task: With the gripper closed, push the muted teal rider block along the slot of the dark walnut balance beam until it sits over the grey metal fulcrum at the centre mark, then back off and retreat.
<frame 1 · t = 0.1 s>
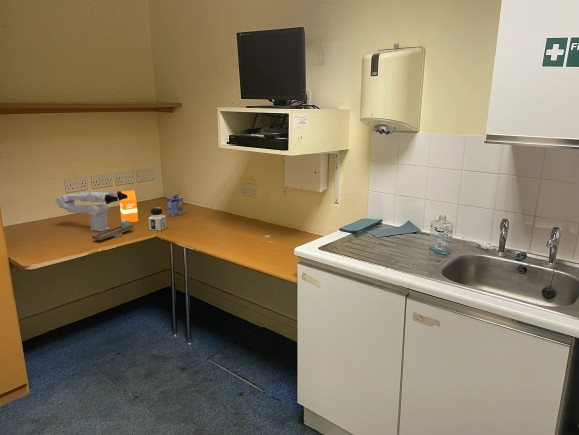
hand: (122, 197, 261), 22 cm above the table, tool horizontal, fingers open, 7 cm apart
rider: (125, 224, 269), point 5 cm above the table, slide at 9.5 cm
beam: (113, 235, 261), on the table
ink cartridge box: (175, 215, 309), on the table
orange juice: (129, 221, 294), on the table
container: (157, 228, 277), on the table
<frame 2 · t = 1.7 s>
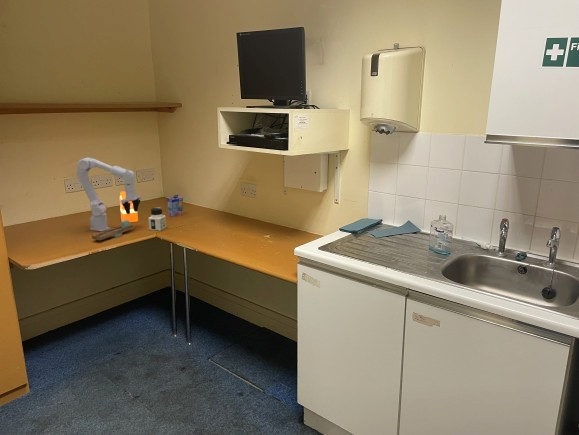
hand: (132, 212, 273), 10 cm above the table, tool pointing down, fingers open, 6 cm apart
nothing on the table moved.
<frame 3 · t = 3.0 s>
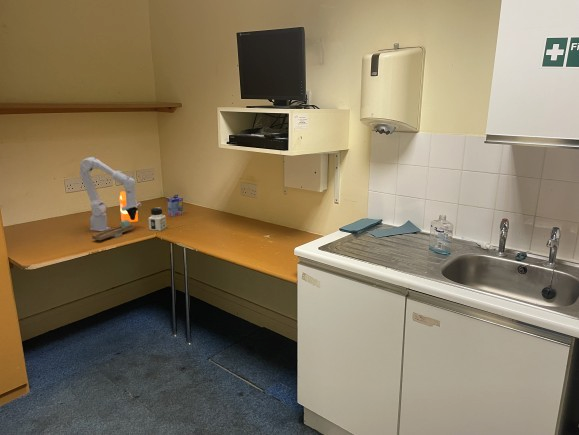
hand: (132, 219, 274), 6 cm above the table, tool pointing down, fingers closed
nothing on the table moved.
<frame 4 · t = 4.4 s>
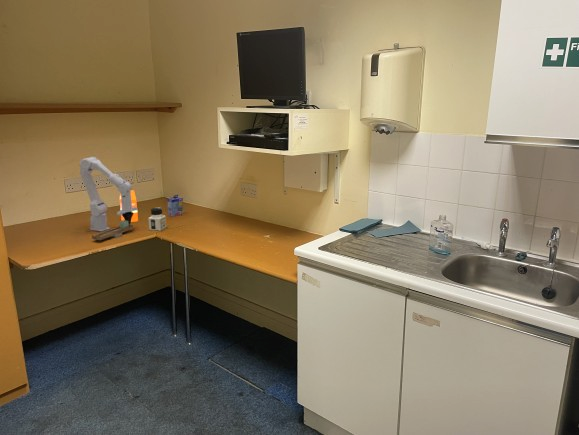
hand: (128, 224, 271), 4 cm above the table, tool pointing down, fingers closed
rider: (124, 224, 268), point 5 cm above the table, slide at 8.7 cm, touching gripper
everything else where it was.
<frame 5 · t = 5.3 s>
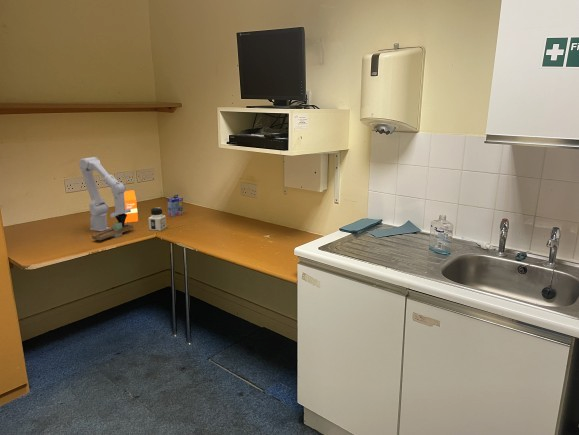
hand: (122, 226, 266), 4 cm above the table, tool pointing down, fingers closed
rider: (117, 226, 263), point 5 cm above the table, slide at 3.5 cm, touching gripper
everything else where it was.
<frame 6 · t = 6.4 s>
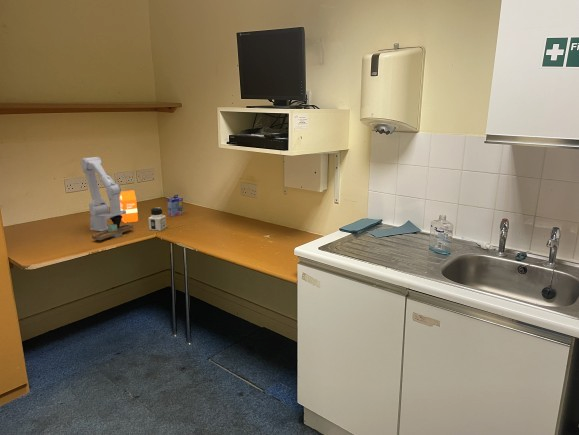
hand: (117, 228, 263), 4 cm above the table, tool pointing down, fingers closed
rider: (112, 228, 260), point 5 cm above the table, slide at -0.4 cm, touching gripper
everything else where it was.
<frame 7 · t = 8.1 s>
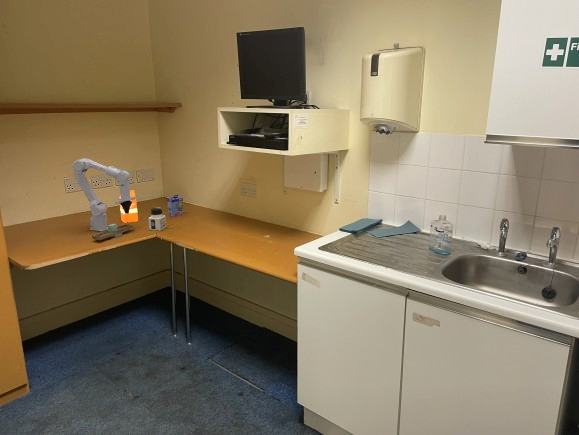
hand: (126, 213, 271), 10 cm above the table, tool pointing down, fingers closed
rider: (112, 228, 260), point 5 cm above the table, slide at -0.5 cm
everything else where it was.
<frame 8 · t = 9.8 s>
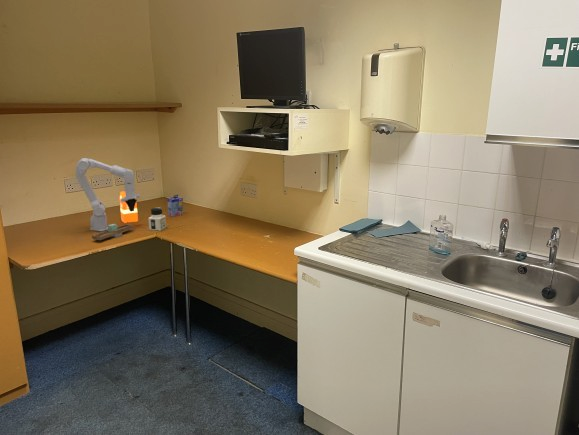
hand: (131, 211, 277), 10 cm above the table, tool pointing down, fingers closed
nothing on the table moved.
at the end: rider slide at -0.5 cm; rider 0.5 cm from the target spot, resting on beam; rider touching nothing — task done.
